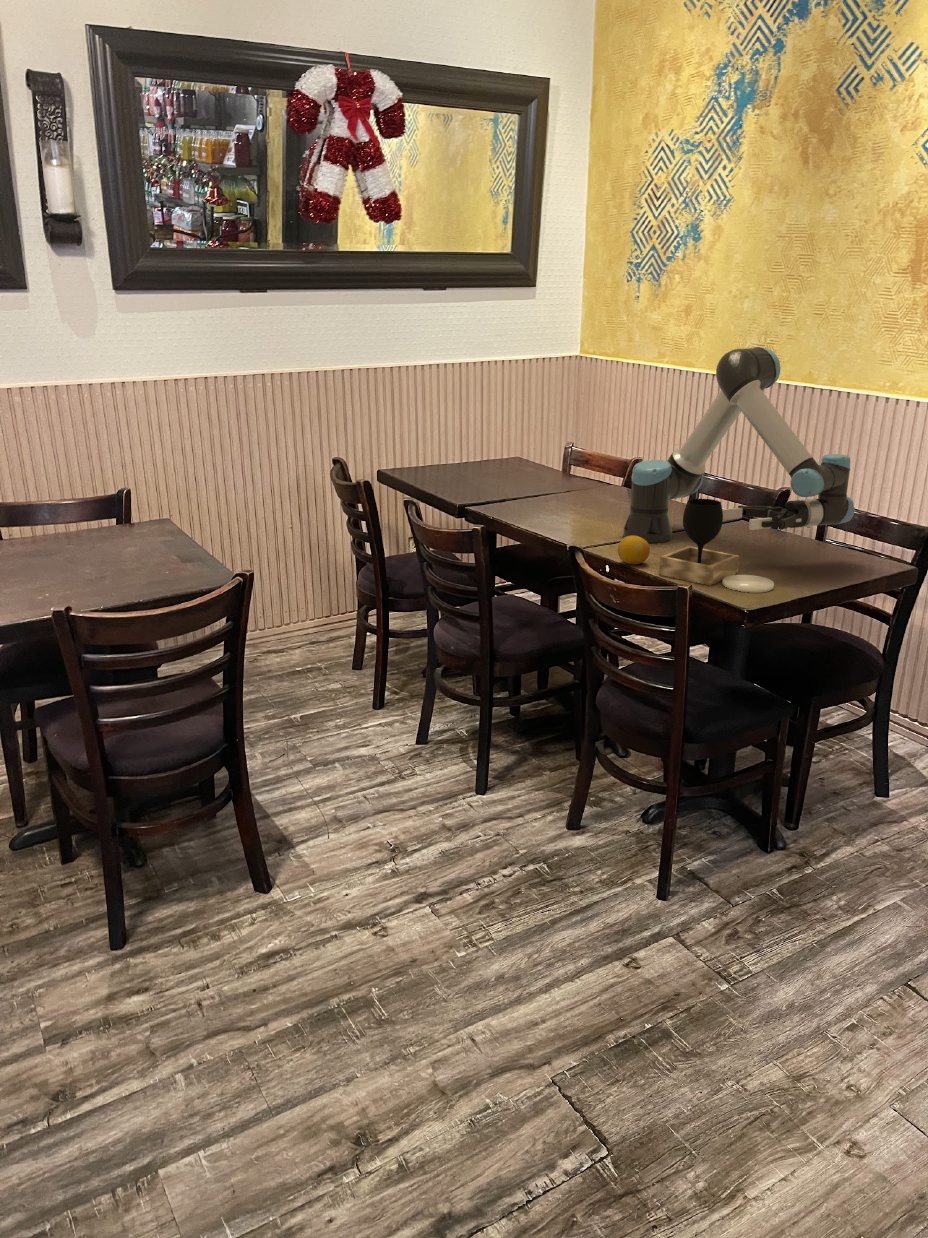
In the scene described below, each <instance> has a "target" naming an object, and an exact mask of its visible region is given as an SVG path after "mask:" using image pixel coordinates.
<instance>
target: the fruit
mask: <svg viewBox="0 0 928 1238" xmlns="http://www.w3.org/2000/svg"><path fill="white" fill-rule="evenodd" d="M650 551H651V549H650V544H649V543H647V541H646V540H644V539H643V538H641V537H639V536H627V537H625V538H624V537H623V538H622V539H620V541H619V543H618V546H617V554H618V557H619V559H620V560H621V562H624V563H626V564H629V565H640V564H642V563H644V562H645V561H646V560H647V559H648V557H649V555H650Z"/></svg>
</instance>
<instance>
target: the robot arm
mask: <svg viewBox="0 0 928 1238" xmlns="http://www.w3.org/2000/svg"><path fill="white" fill-rule="evenodd" d="M781 368H782V367H781V363H780V360H779V356H777V354H776V353H775V352H774V351H773V350H771V349H770V348H767V347H761V346H755V347H750V348H747V347H746V348H735V349H731V350H729V351H728V352H726V353H724V355H723V356H721V358H719V361H718V363H717V366H716V371H715V376H716V377H715V378H716V383H717V384H718V387H719V389H720V391H719V392H718V394H717V395H716V396H715V398H714V400H713V401H712V403H710V405H709V407H708V408H707V409H706V411H705V413H704V414H703V416H702V418H701V419H700V421H699V422H698V423H697V425H696V426H695V428H694V429H693V431H692V432H691V434H690V435H689V436H688V438H687V439H686V441H685V443H684V444H683V445H682V447H681V448H676V449H674V450H673V451H672V453H671V454H670V456H669V457H668V459H667V460H664V459H651V460H648V459H647V460H643V461H639V462H638V463H635V465H634V466H633V468H632V474H631V485H630V486H631V487H630V504H629V506H630V509H629V514H628V516H627V519H626V522H625V525H624V527H623V530H622V537H623V538H625V537H627V536H639V537H641V538H643V539H644V540H646V541H647V543H648V544H649V543H650V544H651V543H664V542H669V541H671V540H672V539H673V529H672V524H671V521H670V518H669V504H670V503H669V502H670V501H672V500H676V499H681V498H687V497H689V496H691V495H693V494H694V493H696V492H697V491H698V490H699V489H700V488H701V486H702V485H703V484H702V483H703V480H704V477H703V476H704V473H705V472H706V466H705V463H706V462H707V461H708V459H709V458H710V456H711V455H712V453H713V452H714V451H715V449H716V448H717V447H718V445H719V444H720V442H721V441H722V439H723V438H724V437H725V436H726V434H727V433H728V431H729V430H730V428H731V427H732V425H733V424H734V423H735V421H736V420H737V419H738V417H739V415H740V414H741V413H742V415H744V417H745V418H746V420H748V422H749V424H750V425H751V426H752V427H753V429H754V430H755V431H756V432H757V434H758V435H759V437H760V438H761V439H762V441H763V442H764V443H765V444H766V446H767V448H768V449H769V450H770V451H771V452H772V454H773V455H774V457H775V458H776V459H777V461H778V462H779V463H780V465H781V466H782V467H783V468H784V470H785V471H786V472H787V474H788V475H789V477H790V487H791V490H792V492H793V494H795V496H798V497H800V498H805V499H801V500H800V499H797V500H789V501H787V502H785V504H784V505H783V507H781V506H775V507H774V505H766V506H765V505H758V506H757V505H738V506H737V507H736V508H735V507H734V508H733V507H732V508H722V511H723V520H731V519H732V520H733V519H739V520H742V518H750V519H749V520H748V521H749V522H748V531H755V530H765V529H766V530H767V529H772V528H773V529H778V530H779V531H780V530H781V531H782V530H785V529H788V528H789V529H794V528H795V529H796V528H802V527H803V528H805V527H806V528H807V529H811V527H814V526H824V525H825V526H826V525H840V524H844V523H848V522H849V521H851V520H852V518H853V517H854V515H855V511H856V510H855V509H856V507H855V506H854V505H855V502H854V501H853V499H852V498H851V497H849V496H848V487H849V480H850V471H851V457H850V456H849V455H846V454H840V453H827V454H826V453H825V454H824V455H823V456H822V458H821V462H820V465H819V463H818V461H816V459H815V458H814V457H813V456H812V454H811V453H810V452H809V451H808V449H807V448H806V446H805V445H804V444H803V443H802V441H801V440H800V439H799V437H798V436H797V434H796V433H795V431H794V430H792V428H791V427H790V426H789V424H788V423H787V421H786V420H785V418H784V417H783V416H782V414H781V413H780V411H778V410H777V407H776V406H774V404H773V403H772V402H771V400H770V399H769V398H768V396H767V395H766V394H765V392H764V390H765V389H768V388H770V387H772V386H773V385H775V384H776V383H777V381H778V380H779V377H780V375H781ZM815 496H817V498H813V497H815ZM811 497H812V498H811ZM807 498H808V499H807ZM751 518H752V519H751Z"/></svg>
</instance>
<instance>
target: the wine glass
mask: <svg viewBox="0 0 928 1238" xmlns="http://www.w3.org/2000/svg"><path fill="white" fill-rule="evenodd" d="M722 509H723V505H722V502H721V501H719V500H716V499H712V498H692V499H689V500H687V501H686V504H685V507H684V510H683V511H684V512H683V516H682V526H683V530H684V532H685V533H686V535H687V537H688V538H689V539H690V540H691V541H692V542H693V543H695V544H696V546H697V548H698V561H697V563H700V564H701V557H702V550H703V549H704V546H705V545H707V544H708V543H710V542H711V541H713V540H714V539H715V538H716V537H717V536H718V534H720V531H721V530H722V526H723V521H724V519H723V511H722Z"/></svg>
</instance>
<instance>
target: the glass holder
mask: <svg viewBox="0 0 928 1238" xmlns="http://www.w3.org/2000/svg"><path fill="white" fill-rule="evenodd" d="M739 559H740V555H738V554H733V553H729V552H728V553H727V552H722V551H718V550H712V549H706V548H703V550H702V557H701V564H700V563H697V561H698V547H695V546H691V545H687V546H686V547H682V548H680V549H677V550H674V551H672V552H669V553H666V554H664V555H661V556H659V568H658V569H659V570H658V575H659V574H661V575H660V576H665V577H669V578H673V577H674V578H673V579H678V580H683V581H687V582H691V583H696V582H697V584H701V585H706V586H713V585H714V584H717V583H719V582H721V581H723V578H725V577H727V576H731V575H733V574H735V575H737V574H738V571H739V570H738V569H739V561H740V560H739ZM736 573H737V574H736ZM712 584H713V585H712Z"/></svg>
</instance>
